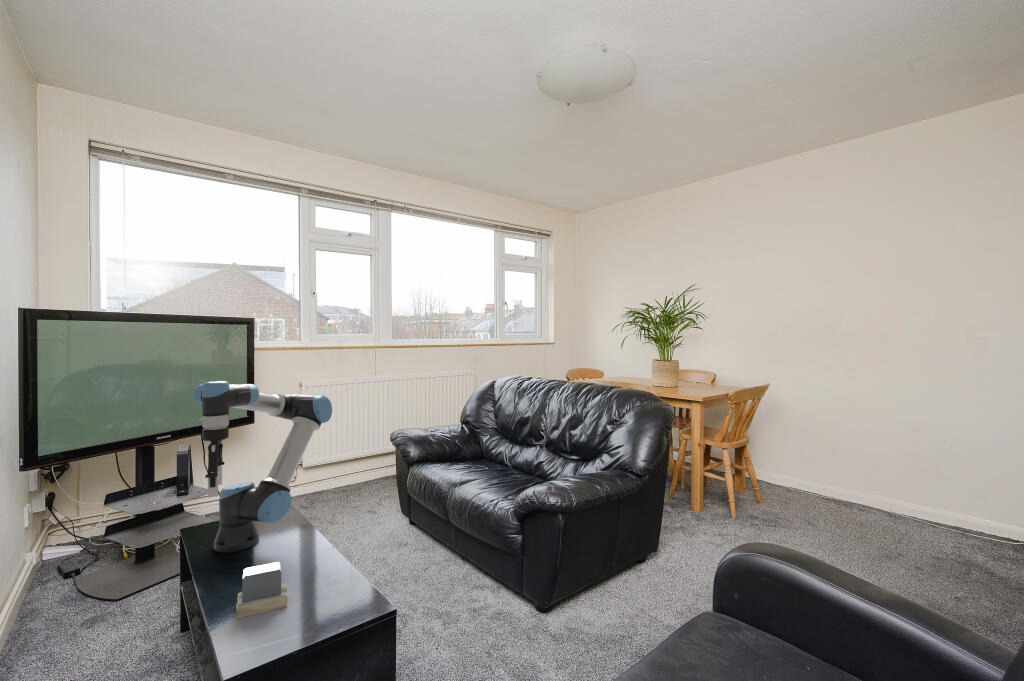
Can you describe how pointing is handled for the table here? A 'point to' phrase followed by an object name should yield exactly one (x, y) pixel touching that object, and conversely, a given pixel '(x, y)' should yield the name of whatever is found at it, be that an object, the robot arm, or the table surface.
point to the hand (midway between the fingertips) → (215, 490)
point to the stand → (261, 604)
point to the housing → (261, 582)
